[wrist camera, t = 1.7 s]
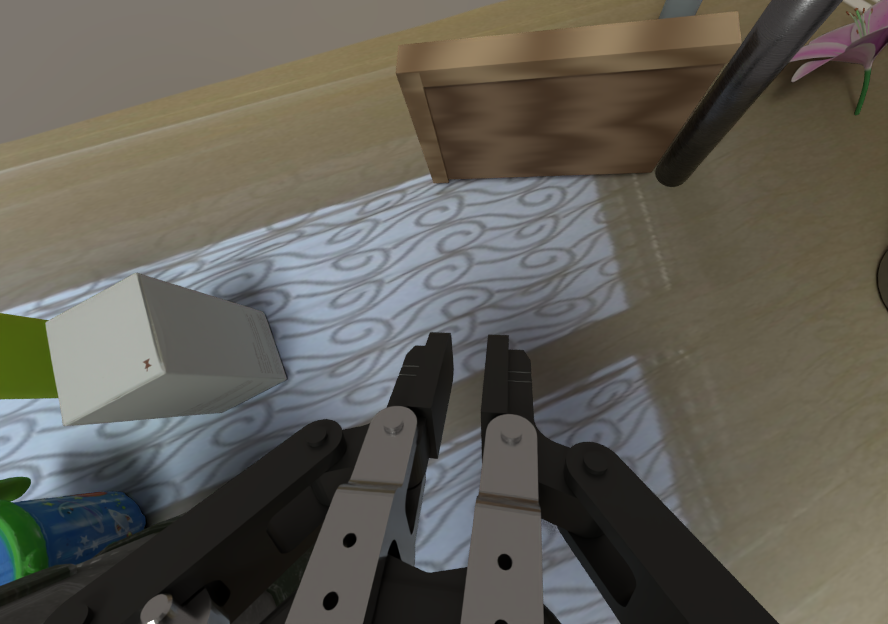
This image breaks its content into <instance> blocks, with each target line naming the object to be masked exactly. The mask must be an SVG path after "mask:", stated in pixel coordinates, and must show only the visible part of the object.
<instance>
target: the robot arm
mask: <svg viewBox="0 0 888 624" xmlns="http://www.w3.org/2000/svg"><path fill="white" fill-rule="evenodd" d="M878 285H879V290H880V293H881V296H882V299H883V301H884V303H885V305H886V306H887V308H888V251H887V252H886V254H885V255H884V257H883V259H882V261H881V263H880V268H879V272H878ZM508 347H509V335H490V334H488V342H487V352H486V363H485V374H484V384H483V395H482V406H481V438H482V471H481V480H480V488H479V495H478V496H477V499H476V504H475V511H474V519H473V527H472V535H471V544H470V552H469V560H468V567H465V568H459V569H452V570H446V571H439V572H432V573H428V572H424V571H422V570H420V569H418V568H416V567H414V566H415V542H416V535H417V529H418V523H419V517H420V511H421V506H422V500H423V494H424V488H425V483H426V469H427V465H428V460H429V458H434V459H438V455H439V450H440V445H441V439H442V434H443V429H444V424H445V419H446V414H447V408H448V403H449V398H450V393H451V388H452V382H453V371H454V366H453V352H452V338H451V333H437V332H430V334H429V337H428V340H427V343H426V346H414V347H413V348H412V349H411V350H410V351H409V352H408V353H407V354H406V357H405V360H404V362H403V366H402V368H401V370H400V373H399V376H398V378H397V381H396V384H395V386H394V389H393V392H392V395H391V397H390V400H389V403H388V405H387V408H385V409H383V410H381V411H380V412H379V413H377V414H376V415H375V416H374V418H373V419H372V421H371V423H370V424H367V425H364V426H360V427H355V428H350V429H345V430H342V428H341V426H340V425H339V424H338V423H337V422H335V421H333V420H328V419H323V420H318V421H314V422H312V423H310V424H308V425H306V426H305V427H304V428H302V429H301V430H299V431H298V432H297V433H295V434H294V435H293V436H291V437H290V438H288V439H287V440H286V441H284V442H283V443H282V444H280V445H279V446H277V447H276V448H275V449H273V450H272V451H271V452H269V453H268V454H266V455H265V456H264V457H262V458H261V459H260V460H258V461H257V462H256V463H254V464H253V465H251V466H250V467H249V468H247V469H246V470H245V471H243V472H242V473H240V474H239V475H238V476H236V477H235V478H234V479H232V480H231V481H229V482H228V483H227V484H225V485H224V486H223V487H221V488H220V489H218V490H217V491H216V492H214V493H213V494H212V495H210V496H209V497H207V498H206V499H205V500H203V501H202V502H201V503H199V504H198V505H197V506H195V507H194V508H192V509H191V510H190V511H188V512H187V513H186V514H184V515H183V516H181V517H180V518H179V519H177V520H176V521H175V522H173V523H172V524H170V525H169V526H168V527H166V528H165V529H164V530H162V531H161V532H159V533H158V534H157V535H155V536H154V537H153V538H151V539H150V540H149V541H147V542H146V543H144V544H143V545H142V546H140V547H139V548H138V549H136V550H135V551H133V552H132V553H131V554H129V555H128V556H127V557H125V558H124V559H122V560H121V561H120V562H118V563H117V564H116V565H114V566H113V567H111V568H110V569H109V570H107V571H106V572H105V573H103V574H102V575H100V576H99V577H98V578H96V579H95V580H94V581H92V582H91V583H90V584H88V585H87V586H85V587H84V588H83V589H81V590H80V591H79V592H77V593H76V594H74V595H73V596H72V597H70V598H69V599H68V600H66V601H65V602H64V603H63V604H61V605H60V606H59V607H58V608H57V609H56V610H55V611H54V612H53V613H52V614H51V615H50V616H49V617H48V618H47V620H46V621H45V622H44V623H43V624H231V623H233V622H234V621H235V620H236V619H237V618H238V617H239V616H240V615H241V614H242V613H243V612H244V611H245V610H246V609H247V608H248V607H249V606H250V605H251V604H252V603H253V602H254V601H255V600H256V599H257V598H258V597H259V596H260V595H261V594H263V593H264V592H265V591H266V590H267V589H268V588H269V587H270V586H271V585H272V584H273V583H274V582H275V581H276V580H277V579H278V578H279V577H280V576H281V575H282V574H283V573H284V572H285V571H286V570H287V569H288V568H289V567H290V566H291V565H292V564H294V563H295V562H296V561H297V560H298V559H299V558H300V557H301V556H302V555H303V554H304V553H305V552H306V551H307V550H308V549H309V548H310V547H311V546H312V545H313V544H314V543H315V542H316V544H315V546H314V549H313V551H312V554H311V557H310V559H309V562H308V565H307V567H306V570H305V572H304V575H303V578H302V580H301V583H300V585H299V587H298V588H297V589H296V590H295V591H294V592H293V593H292V594H291V595H290V596H289V597H288V598H286V599H285V600H284V601H283V602H282V603H281V604H280V605H279V606H278V607H277V608H276V609H275V610H273V611H272V612H271V613H270V614H269V615H268V616H267V617H266V618H265V619H264V620H263V621H261V622H260V623H259V624H561V623H560V621H559V620H558V619H557V618H556V616H555V615H554V614H553V613H552V612H551V611H550V610H549V609H548V608H547V607H546V606H545V605H544V604H543V577H542V538H541V518H542V519H544V520H546V521H548V522H550V523H552V524H554V525H557V527H558V530H559V531H560V533H561V535H562V536H563V538H564V539H565V541H566V542H567V544H568V545H569V547H570V548H571V550H572V551H573V553H574V554H575V556H576V557H577V559H578V560H579V562H580V563H581V565H582V566H583V568H584V569H585V571H586V572H587V574H588V575H589V577H590V578H591V580H592V581H593V583H594V584H595V586H596V587H597V589H598V590H599V592H600V593H601V595H602V596H603V598H604V599H605V601H606V602H607V604H608V605H609V607H610V608H611V610H612V611H613V613H614V614H615V616H616V617H617V619H618V620H619V622H620V623H621V624H779V623H778V622H777V621H776V620H775V619H774V618H773V617H772V616H771V615H770V614H769V613H768V612H767V611H766V610H765V609H764V608H763V606H762V605H761V604H760V603H759V602H758V601H757V600H756V599H755V598H754V597H753V596H752V595H751V594H750V593H749V592H748V591H747V590H746V589H745V588H744V587H743V586H742V585H741V584H740V583H739V582H738V580H737V579H736V578H735V577H734V576H733V575H732V574H731V573H730V572H729V571H728V570H727V569H726V568H725V567H724V566H723V565H722V564H721V563H720V562H719V561H718V560H717V559H716V558H715V557H714V556H713V554H712V553H711V552H710V551H709V550H708V549H707V548H706V547H705V546H704V545H703V544H702V543H701V542H700V541H699V540H698V539H697V538H696V537H695V536H694V535H693V534H692V533H691V532H690V531H689V530H688V528H687V527H686V526H685V525H684V524H683V523H682V522H681V521H680V520H679V519H678V518H677V517H676V516H675V515H674V514H673V513H672V512H671V511H670V510H669V509H668V508H667V507H666V506H665V505H664V504H663V502H662V501H661V500H660V499H659V498H658V497H657V496H656V495H655V494H654V493H653V492H652V491H651V490H650V489H649V488H648V487H647V486H646V485H645V484H644V483H643V482H642V481H641V480H640V479H639V478H638V476H637V475H636V474H635V473H634V472H633V471H632V470H631V469H630V468H629V467H628V466H627V465H626V464H625V463H624V462H623V461H622V460H621V459H620V458H619V457H618V456H617V455H616V454H615V453H614V452H613V451H612V450H610V449H609V448H607V447H605V446H603V445H601V444H598V443H594V442H581V443H578V444H576V445H574V446H572V447H571V448H569V447H566V446H564V445H561V444H558V443H556V442H553V441H551V440H550V439H548V438H546V437H545V436H544V435H543V434H542V433H541V432H540V431H539V430H538V428H537V427H536V425H535V422H534V413H533V396H532V379H531V362H530V359H529V358H528V356H527V355H526V353H525V352H524V350H508Z"/></svg>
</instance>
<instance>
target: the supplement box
mask: <svg viewBox="0 0 888 624" xmlns="http://www.w3.org/2000/svg"><path fill="white" fill-rule="evenodd" d="M45 324H46V331H47V337H48V343H49V348H50V354H51V360H52V366H53V371H54V376H55V382H56V387H57V392H58V397H59V402H60V409H61V415H62V423H63V426H73V425H87V424H100V423H111V422H122V421H133V420H144V419H155V418H166V417H178V416H189V415H201V414H213V413H222V412H224V411H226V410H228V409H230V408H233V407H235V406H237V405H238V404H240V403H242V402H244V401H246V400H248V399H250V398H252V397H254V396H256V395H258V394H260V393H262V392H264V391H266V390H268V389H270V388H271V387H273V386H275V385H277V384H279V383H281V382H283V381H285V380H286V379H287V378H286V374H285V371H284V368H283V365H282V362H281V360H280V357H279V354H278V351H277V348H276V345H275V342H274V339H273V336H272V333H271V330H270V328H269V325H268V322H267V319H266V317H265V314H264V312H262V311H259V310H256V309H253V308H249V307H246V306H243V305H240V304H236V303H233V302H230V301H227V300H223V299H220V298H217V297H214V296H210V295H207V294H204V293H201V292H197V291H194V290H191V289H187V288H184V287H181V286H178V285H174V284H171V283H168V282H165V281H161V280H158V279H155V278H151V277H148V276H145V275H142V274H139V273H134V274H133V275H131V276H129V277H127V278H125V279H124V280H122V281H120V282H118V283H117V284H115V285H113V286H111V287H109V288H108V289H106V290H104V291H102V292H100V293H98V294H96V295H95V296H93V297H91V298H89V299H87V300H85V301H84V302H82V303H80V304H78V305H76V306H75V307H73V308H71V309H69V310H67V311H65V312H63V313H62V314H60V315H58V316H56V317H54V318H52V319H50V320H49V321H47V322H46V323H45Z"/></svg>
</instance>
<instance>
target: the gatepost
mask: <svg viewBox="0 0 888 624" xmlns="http://www.w3.org/2000/svg"><path fill="white" fill-rule="evenodd" d="M842 1H843V0H771V2H770V3H769V5H768V6H767V8H766V9H765V11H764V12H763V14H762V15H761V16H760V18H759V19H758V21H757V22H756V24H755V25H754V27H753V28H752V30H751V31H750V32H749V34H748V35H747V37H746V38H745V40H744V41H743V43H742V44H741V46H740V47H739V48H738V50H737V51H736V53H735V54H734V56H733V57H732V59H731V60H730V62H729V63H728V64H727V66H726V67H725V69H724V70H723V72H722V73H721V75H720V76H719V78H718V79H717V80H716V82H715V83H714V85H713V86H712V88H711V89H710V91H709V92H708V94H707V95H706V96H705V98H704V99H703V101H702V102H701V104H700V105H699V107H698V108H697V110H696V111H695V112H694V114H693V115H692V117H691V118H690V120H689V121H688V123H687V124H686V126H685V127H684V128H683V130H682V131H681V133H680V134H679V136H678V137H677V139H676V140H675V142H674V143H673V144H672V146H671V147H670V149H669V150H668V152H667V153H666V155H665V156H664V158H663V159H662V160H661V162H660V163H659V165H658V166H657V168H656V172H655V174H656V178H657V179H658V181H659V182H660V183H662V184H663V185H665V186H669V187H675V186H679V185H681V184H683V183H684V182H685V181H686V180H687V179H688V178H689V176H690V175H691V174H692V173H693V172H694V171H695V170H696V168H697V167H698V166H699V165H700V164H701V163H702V161H703V160H704V159H705V158H706V157H707V156H708V155H709V153H710V152H711V151H712V150H713V149H714V148H715V147H716V145H717V144H718V143H719V142H720V141H721V140H722V139H723V137H724V136H725V135H726V134H727V133H728V132H729V130H730V129H731V128H732V127H733V126H734V125H735V124H736V122H737V121H738V120H739V119H740V118H741V117H742V116H743V114H744V113H745V112H746V111H747V110H748V109H749V107H750V106H751V105H752V104H753V103H754V102H755V101H756V99H757V98H758V97H759V96H760V95H761V94H762V93H763V91H764V90H765V89H766V88H767V87H768V86H769V85H770V83H771V82H772V81H773V80H774V79H775V78H776V76H777V75H778V74H779V73H780V72H781V71H782V70H783V68H784V67H785V66H786V65H787V64H788V63H789V62H790V60H791V59H792V58H793V57H794V56H795V55H796V54H797V52H798V51H799V50H800V49H801V48H802V47H803V45H804V44H805V43H806V42H807V41H808V40H809V39H810V37H811V36H812V35H813V34H814V33H815V32H816V31H817V29H818V28H819V27H820V26H821V25H822V24H823V22H824V21H825V20H826V19H827V18H828V17H829V16H830V14H831V13H832V12H833V11H834V10H835V9H836V8H837V6H838V5H839V4H840V3H841V2H842Z"/></svg>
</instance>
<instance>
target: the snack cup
mask: <svg viewBox="0 0 888 624" xmlns="http://www.w3.org/2000/svg"><path fill="white" fill-rule="evenodd" d="M30 485H31V480H30V478H27V477H13V478H7V479H4V480H0V586H1V585H4V584H6V583H9V582H12V581H14V580H17V579H19V578H22V577H24V576H27V575H30V574H32V573H35V572H38V571H41V570H43V569H46V568H49V567H52V566H54V565H60V564H74V565H77V564H80V563H82V562H85V561H87V560H89V559H91V558H93V557H94V556H95V555H96V554H98V553H99V552H100V551H102V550H103V549H104V548H105V547H107V546H108V545H110V544H112V543H114V542H117V541H119V540H121V539H124V538H126V537H128V536H130V535H133V534H135V533H137V532H139V531H142V530H144V527H145V524H146V522H145V516H144V515H142V513H141V510H140V508H139V506H138V505H137V504H136V503H135V502H134V501H133V500H132V499H130V498H129V497H127V496H126V495H125V493H123V492H113V491H112V492H94V493H86V494H77V495H69V496H63V497H56V498H44V499H36V500H27V501H20V502H15V503H13V502H10V501H13V500H15V499H17V498H19V497H21V496H22V495H23V494H24V493H25V492H26V491H27V489H28V488H29V486H30Z"/></svg>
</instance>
